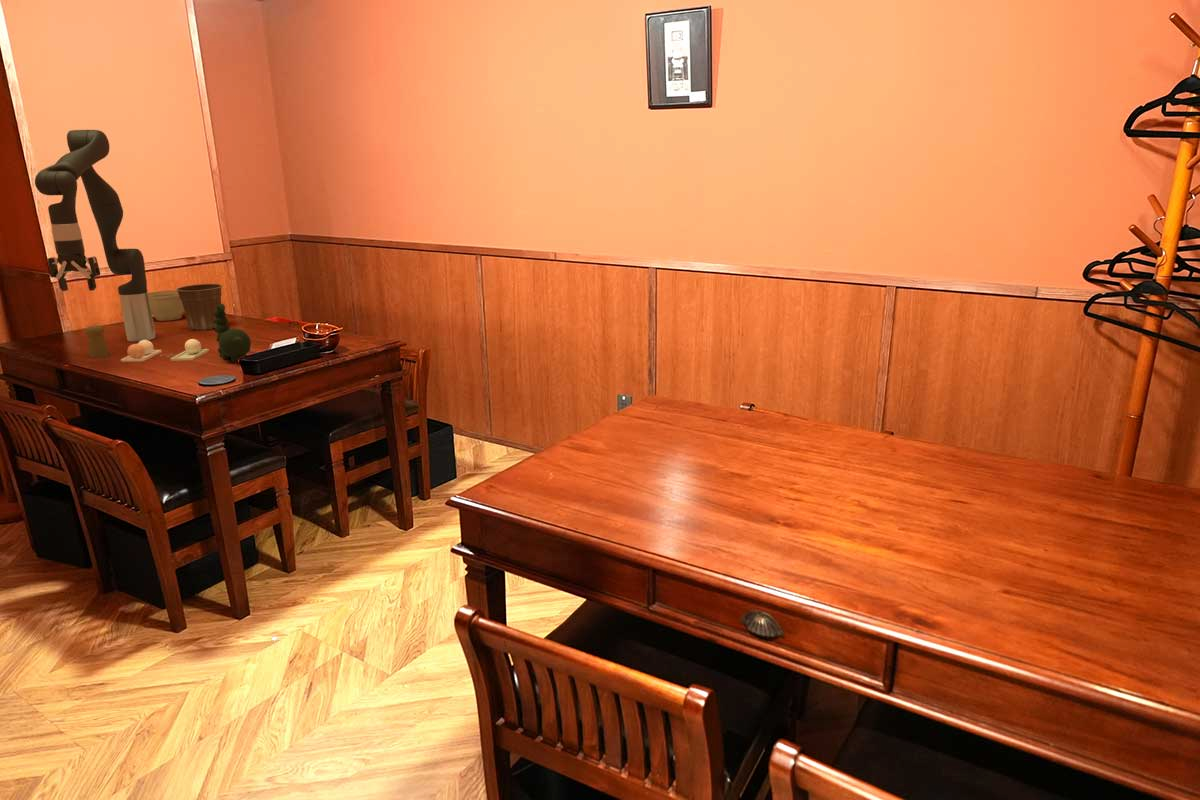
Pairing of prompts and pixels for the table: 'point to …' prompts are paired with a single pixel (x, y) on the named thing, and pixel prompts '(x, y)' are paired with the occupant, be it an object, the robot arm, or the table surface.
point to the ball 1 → (135, 351)
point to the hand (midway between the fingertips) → (78, 290)
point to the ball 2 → (146, 346)
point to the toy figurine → (230, 337)
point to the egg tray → (153, 353)
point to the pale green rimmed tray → (188, 355)
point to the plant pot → (200, 304)
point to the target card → (167, 356)
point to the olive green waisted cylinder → (96, 342)
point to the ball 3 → (192, 346)
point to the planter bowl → (166, 305)
